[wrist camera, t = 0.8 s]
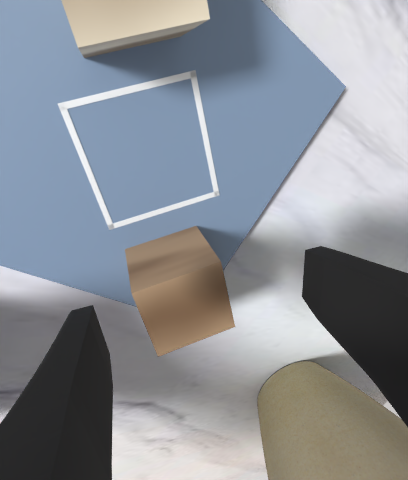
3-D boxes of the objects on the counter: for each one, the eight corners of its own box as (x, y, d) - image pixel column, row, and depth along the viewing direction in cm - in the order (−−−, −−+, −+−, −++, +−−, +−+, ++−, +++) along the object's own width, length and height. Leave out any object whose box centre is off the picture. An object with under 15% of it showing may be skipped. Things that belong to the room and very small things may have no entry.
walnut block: (210, 282, 21) (235, 326, 17) (147, 305, 20) (158, 356, 17) (196, 225, 19) (220, 261, 15) (124, 249, 18) (131, 293, 14)
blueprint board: (186, 316, 23) (188, 322, 22) (-83, 233, 15) (-90, 238, 15) (339, 86, 18) (346, 86, 18) (67, -186, 11) (66, -200, 10)
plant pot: (351, 402, 35) (508, 601, 22) (231, 455, 33) (324, 718, 19) (361, 305, 28) (607, 513, 14) (208, 364, 26) (333, 682, 12)
